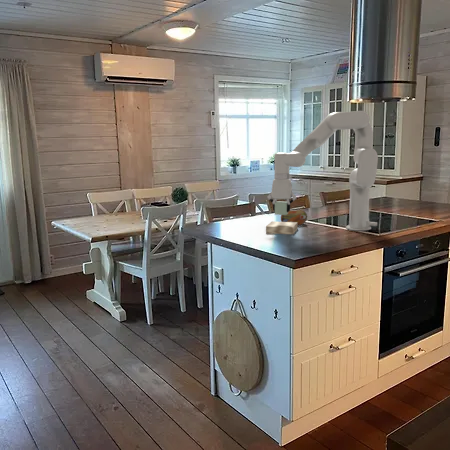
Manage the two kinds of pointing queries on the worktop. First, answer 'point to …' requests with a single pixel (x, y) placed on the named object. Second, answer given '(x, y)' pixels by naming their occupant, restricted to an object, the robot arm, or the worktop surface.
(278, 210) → the sage cube
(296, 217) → the tin
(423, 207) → the worktop surface
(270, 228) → the birch block
